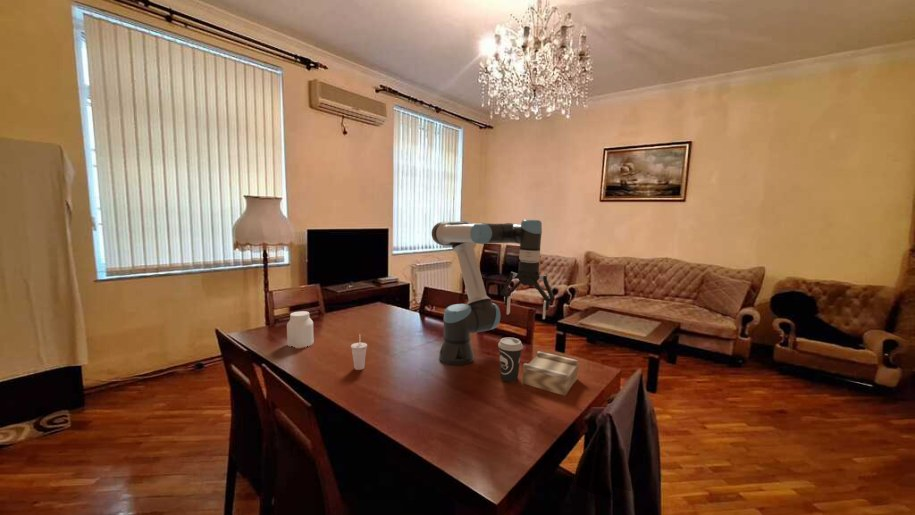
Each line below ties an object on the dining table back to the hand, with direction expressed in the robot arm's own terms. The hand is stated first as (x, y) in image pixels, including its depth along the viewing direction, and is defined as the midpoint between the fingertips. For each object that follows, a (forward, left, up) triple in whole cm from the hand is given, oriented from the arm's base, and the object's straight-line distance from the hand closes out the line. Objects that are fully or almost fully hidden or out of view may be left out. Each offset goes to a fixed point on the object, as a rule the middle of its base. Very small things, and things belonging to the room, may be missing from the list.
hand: (525, 315), depth 133 cm
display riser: (+10, +3, -25) cm, 27 cm away
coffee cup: (-4, -4, -25) cm, 26 cm away
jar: (-101, -29, -25) cm, 108 cm away
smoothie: (-58, -31, -25) cm, 70 cm away
